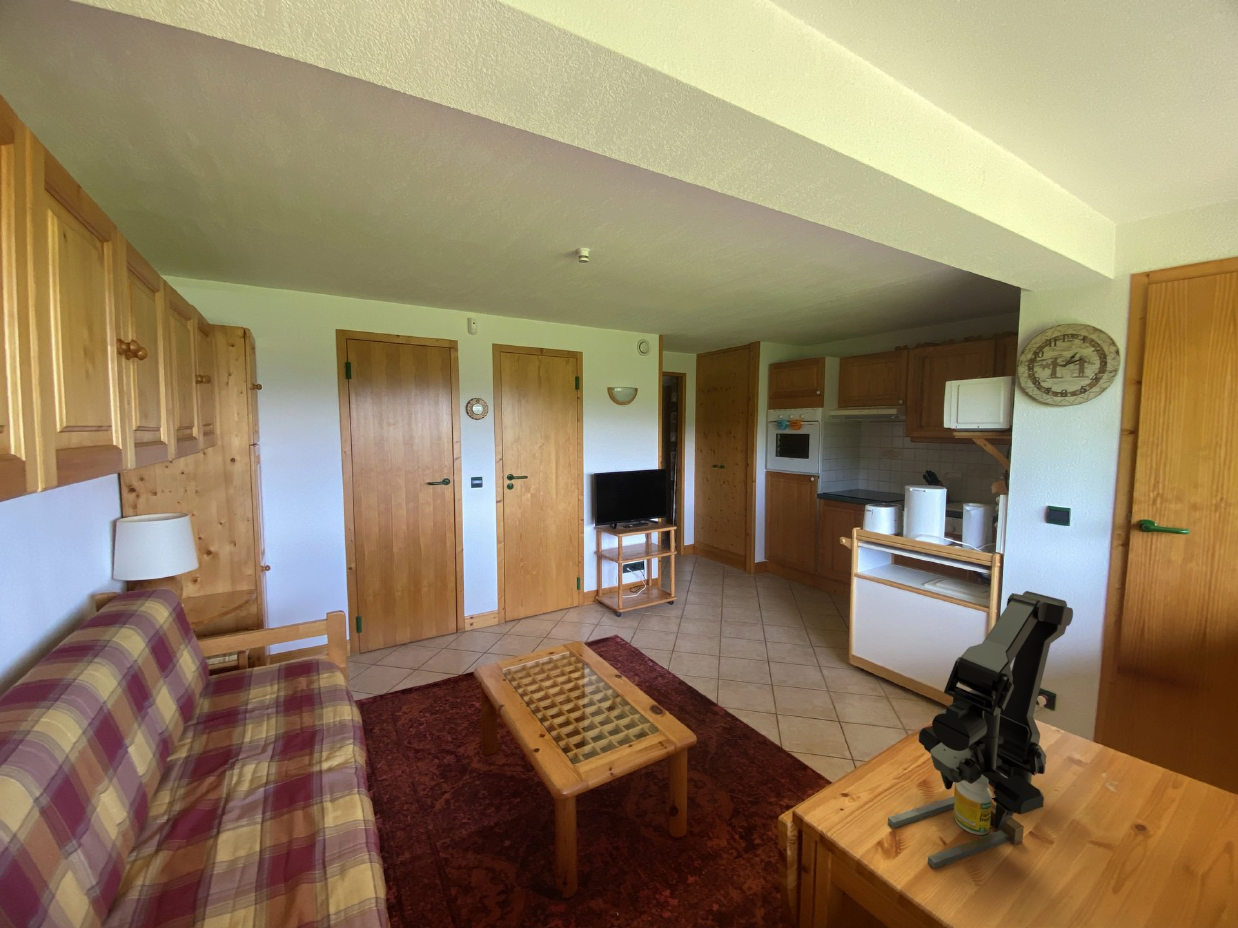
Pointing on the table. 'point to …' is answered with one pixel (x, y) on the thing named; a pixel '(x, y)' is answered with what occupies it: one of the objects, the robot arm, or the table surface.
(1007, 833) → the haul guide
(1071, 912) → the table surface
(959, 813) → the supplement bottle
